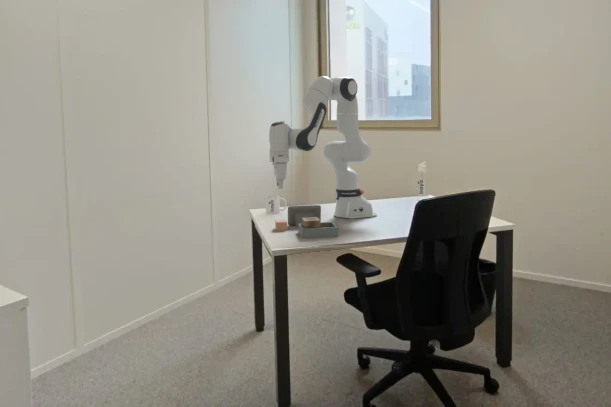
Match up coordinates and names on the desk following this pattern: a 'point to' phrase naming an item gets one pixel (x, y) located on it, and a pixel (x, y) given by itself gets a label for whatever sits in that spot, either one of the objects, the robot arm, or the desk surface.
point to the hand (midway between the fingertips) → (279, 187)
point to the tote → (319, 230)
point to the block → (311, 222)
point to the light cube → (280, 225)
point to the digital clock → (302, 213)
